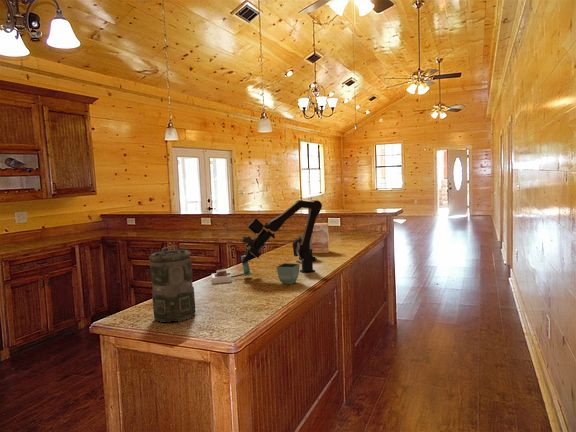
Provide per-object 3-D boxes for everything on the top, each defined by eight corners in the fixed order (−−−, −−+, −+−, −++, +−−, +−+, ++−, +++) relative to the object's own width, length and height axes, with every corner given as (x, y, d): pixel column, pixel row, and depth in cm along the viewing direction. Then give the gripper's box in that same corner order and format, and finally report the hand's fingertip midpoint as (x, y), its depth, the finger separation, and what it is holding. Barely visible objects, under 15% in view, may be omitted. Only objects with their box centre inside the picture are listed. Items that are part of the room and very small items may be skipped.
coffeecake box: (306, 253, 285) (304, 224, 284) (307, 251, 292) (306, 223, 291) (328, 252, 283) (327, 223, 281) (329, 251, 290) (328, 222, 288)
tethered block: (251, 272, 228) (247, 254, 227) (252, 274, 224) (248, 256, 222) (218, 279, 225) (214, 261, 224) (218, 281, 220) (214, 263, 219)
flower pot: (300, 281, 211) (299, 263, 211) (293, 285, 203) (292, 267, 203) (284, 280, 215) (283, 263, 214) (277, 284, 207) (276, 266, 206)
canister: (174, 326, 156) (167, 250, 154) (145, 320, 165) (138, 249, 162) (204, 313, 170) (198, 243, 167) (176, 308, 178) (170, 242, 175)
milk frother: (304, 256, 275) (302, 233, 274) (325, 258, 266) (323, 234, 265) (291, 260, 264) (290, 237, 263) (312, 262, 255) (311, 238, 253)
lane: (230, 277, 229) (229, 271, 229) (231, 281, 219) (231, 275, 219) (212, 279, 227) (211, 273, 227) (212, 283, 217) (212, 277, 217)
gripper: (248, 228, 233) (229, 250, 232) (252, 232, 215) (231, 255, 214) (263, 240, 235) (244, 262, 234) (268, 245, 217) (248, 269, 216)
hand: (242, 262), depth 225 cm, fingers closed on tethered block, 3 cm apart
